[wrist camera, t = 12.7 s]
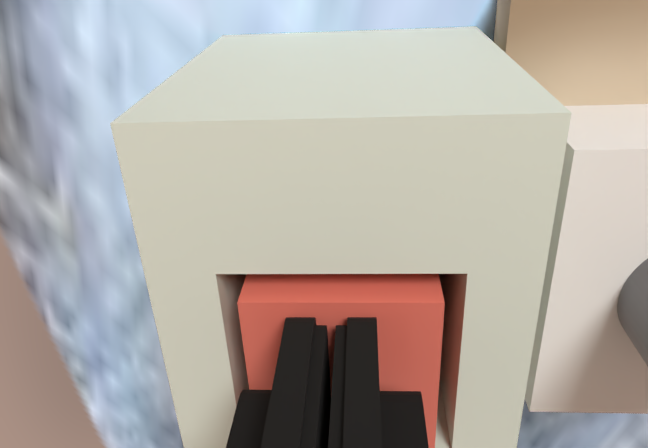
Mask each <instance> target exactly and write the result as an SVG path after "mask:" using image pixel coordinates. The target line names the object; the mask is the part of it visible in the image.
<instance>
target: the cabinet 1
mask: <svg viewBox="0 0 648 448" xmlns="http://www.w3.org/2000/svg"><path fill="white" fill-rule="evenodd" d="M571 114H572V113H571V112H570V111H569V110H568V109H567V108H566V107H565V106H564V105H563V104H561V103H560V102H559V101H558V100H557V99H556V98H555V97H554V96H553V95H552V94H550V93H549V92H548V91H547V90H546V89H545V88H544V87H543V86H542V85H540V84H539V83H538V82H537V81H536V80H535V79H534V78H533V77H532V76H531V75H529V74H528V73H527V72H526V71H525V70H524V69H523V68H522V67H521V66H519V65H518V64H517V63H516V62H515V61H514V60H513V59H512V58H511V57H510V56H508V55H507V54H506V53H505V52H504V51H503V50H502V49H501V48H500V47H498V46H497V45H496V44H495V43H494V42H493V41H492V40H491V39H490V38H489V37H487V36H486V35H485V34H484V33H483V32H482V31H481V30H480V29H479V28H477V27H476V26H473V27H444V28H415V29H387V30H358V31H329V32H300V33H272V34H243V35H223V36H221V37H220V38H219V39H217V40H216V41H215V42H214V43H212V44H211V45H210V46H209V47H207V48H206V49H205V50H203V51H202V52H201V53H200V54H198V55H197V56H196V57H194V58H193V59H192V60H191V61H189V62H188V63H187V64H186V65H184V66H183V67H182V68H180V69H179V70H178V71H177V72H175V73H174V74H173V75H171V76H170V77H169V78H168V79H166V80H165V81H164V82H163V83H161V84H160V85H159V86H157V87H156V88H155V89H154V90H152V91H151V92H150V93H149V94H147V95H146V96H145V97H143V98H142V99H141V100H140V101H138V102H137V103H136V104H134V105H133V106H132V107H131V108H129V109H128V110H127V111H126V112H124V113H123V114H122V115H120V116H119V117H118V118H117V119H115V120H114V121H113V122H111V123H110V124H111V129H112V133H113V138H114V142H115V146H116V151H117V155H118V160H119V164H120V168H121V173H122V177H123V182H124V186H125V191H126V195H127V199H128V204H129V208H130V213H131V217H132V221H133V226H134V230H135V235H136V239H137V243H138V248H139V252H140V257H141V261H142V266H143V270H144V274H145V279H146V283H147V288H148V292H149V296H150V301H151V305H152V310H153V314H154V318H155V323H156V327H157V332H158V336H159V341H160V345H161V349H162V354H163V358H164V363H165V367H166V371H167V376H168V380H169V385H170V389H171V393H172V398H173V402H174V407H175V411H176V416H177V420H178V424H179V429H180V433H181V438H182V442H183V446H184V448H226V445H227V441H228V437H229V434H230V430H231V426H232V422H233V418H234V414H235V410H236V406H237V402H238V399H239V396H240V393H241V392H242V390H249V383H248V376H247V369H246V362H245V355H244V348H243V341H242V333H241V326H240V319H239V312H238V305H237V302H238V299H239V296H240V293H241V290H242V287H243V284H244V281H245V278H246V275H247V274H439V278H440V283H441V288H442V292H443V297H444V302H445V307H444V322H443V336H442V351H441V365H440V380H439V394H438V409H437V424H436V438H435V448H517V442H518V436H519V430H520V423H521V417H522V411H523V405H524V399H525V393H526V387H527V381H528V375H529V369H530V363H531V357H532V351H533V344H534V338H535V332H536V326H537V320H538V314H539V308H540V302H541V296H542V290H543V284H544V278H545V272H546V266H547V259H548V253H549V247H550V241H551V235H552V229H553V223H554V217H555V211H556V205H557V199H558V193H559V187H560V180H561V174H562V168H563V162H564V156H565V150H566V144H567V138H568V132H569V126H570V120H571Z"/></svg>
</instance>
